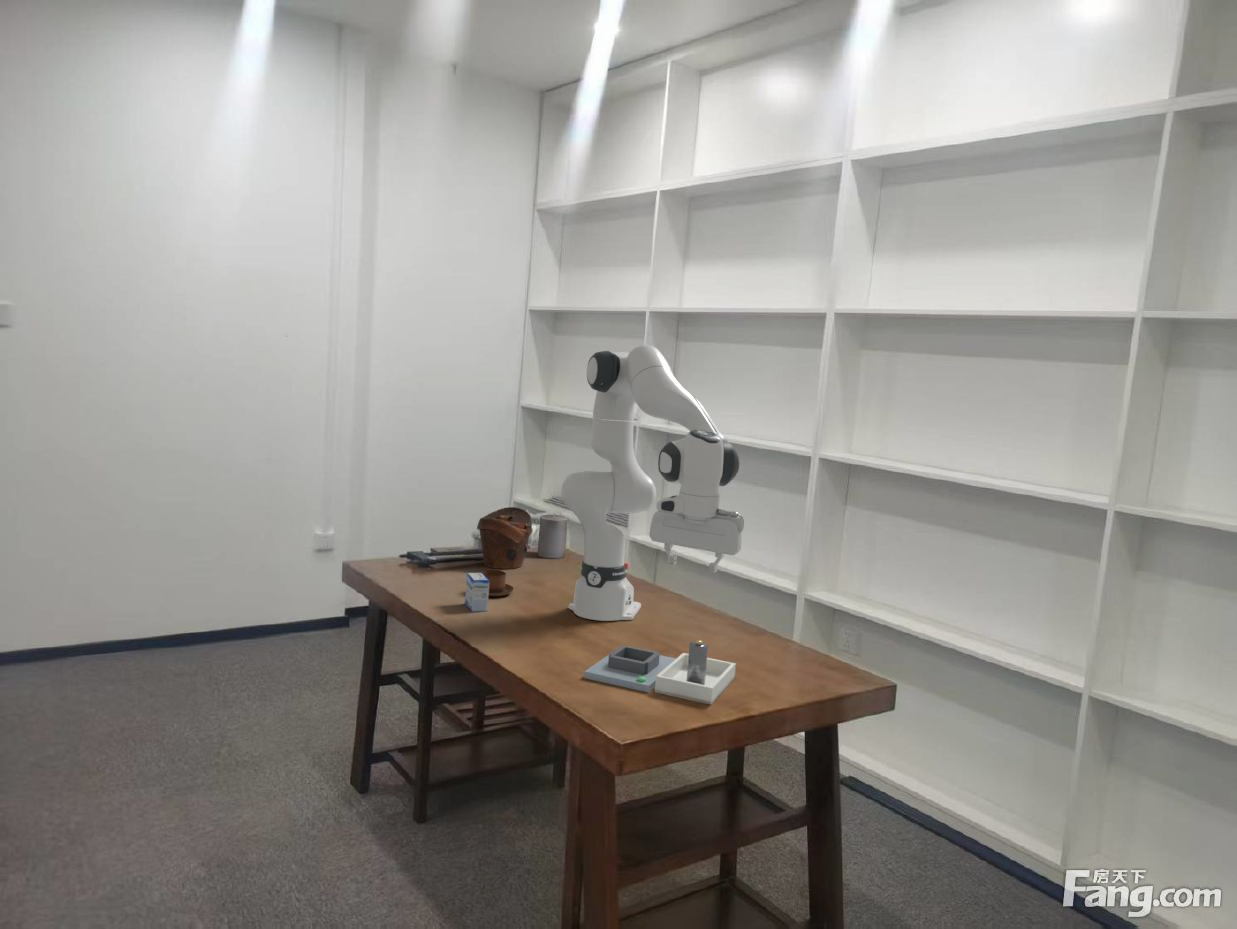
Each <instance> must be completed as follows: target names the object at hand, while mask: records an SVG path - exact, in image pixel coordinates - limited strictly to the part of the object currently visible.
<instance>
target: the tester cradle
mask: <svg viewBox="0 0 1237 929" xmlns="http://www.w3.org/2000/svg"><path fill="white" fill-rule="evenodd" d="M675 659H677V657H676V658H675V657H673V656H672V657H671V656H666V655H662V654H660V651H655V650H651V649H645V648H641V647H636V646H630V645H626V644H625V645H624V646H621V645H620V646H619V647H617V648H616V649H615V650H613V651H612V652H610V653H609V654H607V655H606V656H604V657H603V658H602V659H601V660H600V659H599V661H597V662H596V663H595V664H593V665H592V666H590V667H588V668H587V669H586V670H585V671H584V673H583V678H584V679H587V680H590V681H594V682H595V681H596V682H600V683H604V684H609V685H613V686H618V687H622V688H627V689H630V690H631V689H632V690H635V691H640V692H643V693H644V692H645V693H650V692H651V691H652V690H653V689H655V683H656V676H657V675H658V674H659V673H660V672H661V671H663V670H664V669H665V668H666V667H667V666H668V665H670V664H671V663H672V662H673V661H674V660H675Z"/></svg>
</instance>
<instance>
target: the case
mask: <svg viewBox="0 0 1237 929" xmlns="http://www.w3.org/2000/svg"><path fill="white" fill-rule="evenodd" d="M532 527H533V526H532V516H531V515H530V513H529V512H528V511H526V510H525V509H522V508H520V507H515V506H512V507H502V508H500V509H498V510H495V511H492V512H490V513H488V514H486V515H484V516H483V517H480V519H479V520H478V523H477V526H476V530H477V531H479V537H480V544H481V550H482V556H483V564H484V565H485V566H486V567H488V568H491V569H495V570H499V569H500V570H505V569H506V570H508V569H509V570H511V569H516V568H520V567H522V565H523V564H524V561H525V557H526V553H527V551H528V550H531V546H530V545H529V539H530V536H531V534H532V533H533V528H532Z"/></svg>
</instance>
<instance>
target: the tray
mask: <svg viewBox="0 0 1237 929" xmlns="http://www.w3.org/2000/svg"><path fill="white" fill-rule="evenodd" d="M688 657H689V653H686V652H682V653H681V654H680V655H679V656H678V657H676V659H675V660H674V661H673V662H672V663H671V664H670V665H668V666H667V667H666V668H665V669H664V670H663V671H661V672H660V673H659V674H658V675H657V676H656V683H655V687H654V693H657V694H661V695H662V694H663V695H667V696H671V697H675V698H679V699H684V700H689V701H693V702H697V703H702V704H707V705H711V706H712V705H713V703H714V702H715V701H716V700H717V699H718V698H719V697H720V696H721V694H722V693H723V692H725V690H726V688H728V686H729V685H730V684H731V683H732V682H733V681H734V680H735V676H736V667H737V666H736V664H737V663H736V662H735V663H734V662H732V661H731V662H730V661H724V660H721V659H715V658H711V657H707V665H706V676H705V684H704V685H701V684H697V683H692V682H688V681H687V669H688Z"/></svg>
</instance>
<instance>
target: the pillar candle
mask: <svg viewBox="0 0 1237 929" xmlns="http://www.w3.org/2000/svg"><path fill="white" fill-rule="evenodd" d="M568 520H569V519H568V517H567V516H565V515H564V516H563V515H558V514H556V513H553V514H542V515H540V517H539V528H538V540H537V542H538V543H537V556H538V557H541V558H545V559H556V560H557V559H558V560H559V559H563V558H565V557H566V550H567V547H566V546H567V532H568Z"/></svg>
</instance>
